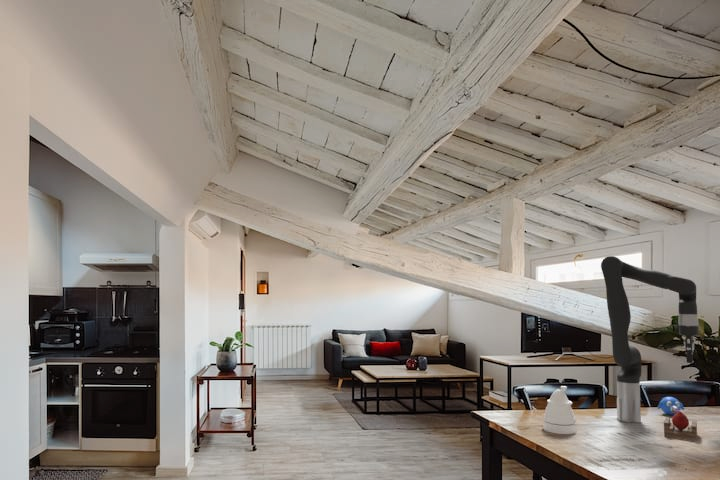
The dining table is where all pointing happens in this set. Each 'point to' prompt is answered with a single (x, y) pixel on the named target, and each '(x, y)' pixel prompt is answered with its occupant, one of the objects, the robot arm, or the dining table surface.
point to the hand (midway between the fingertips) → (690, 361)
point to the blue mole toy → (670, 405)
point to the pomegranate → (680, 421)
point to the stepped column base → (684, 434)
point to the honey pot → (559, 414)
